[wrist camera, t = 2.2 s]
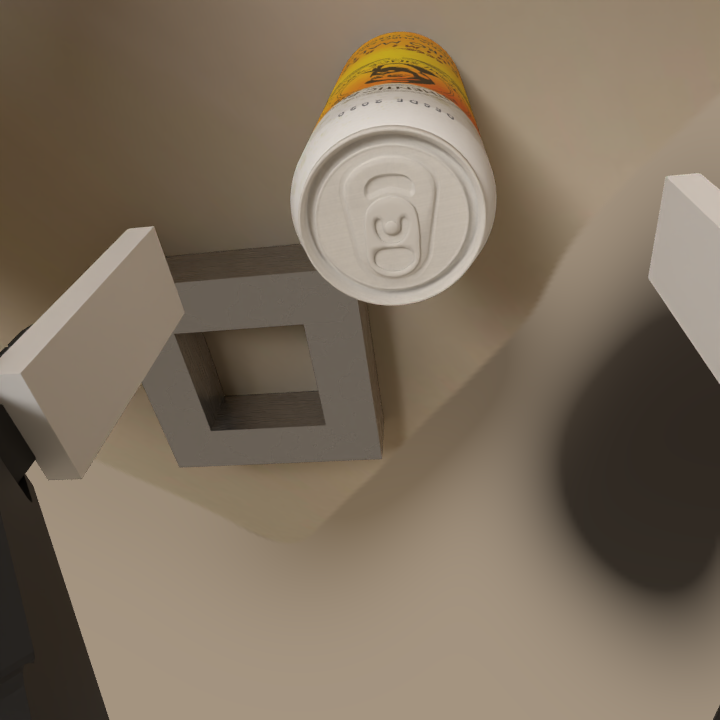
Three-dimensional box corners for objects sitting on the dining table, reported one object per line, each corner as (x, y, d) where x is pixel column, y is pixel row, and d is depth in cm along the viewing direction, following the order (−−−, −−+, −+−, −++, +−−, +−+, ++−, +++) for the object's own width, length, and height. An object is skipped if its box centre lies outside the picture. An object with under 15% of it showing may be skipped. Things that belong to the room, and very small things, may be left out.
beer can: (462, 22, 26) (506, 100, 14) (461, 158, 30) (497, 312, 18) (329, 36, 27) (265, 121, 15) (344, 167, 31) (302, 321, 18)
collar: (194, 432, 43) (179, 467, 40) (125, 260, 35) (100, 289, 32) (384, 422, 41) (381, 458, 38) (357, 238, 33) (352, 267, 30)
